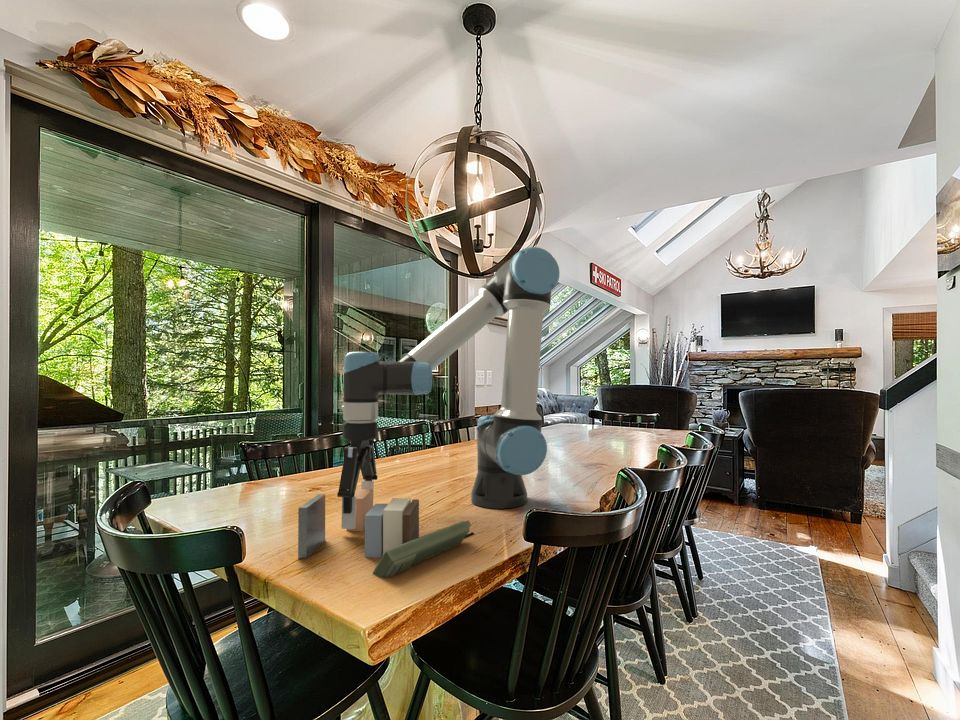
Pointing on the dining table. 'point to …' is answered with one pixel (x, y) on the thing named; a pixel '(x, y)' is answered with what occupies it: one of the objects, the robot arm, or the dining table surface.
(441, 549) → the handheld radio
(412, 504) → the dark brown block piece
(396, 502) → the cream book
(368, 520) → the slate book
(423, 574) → the dining table surface
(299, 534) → the bookend
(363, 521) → the rust book
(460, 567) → the dining table surface
